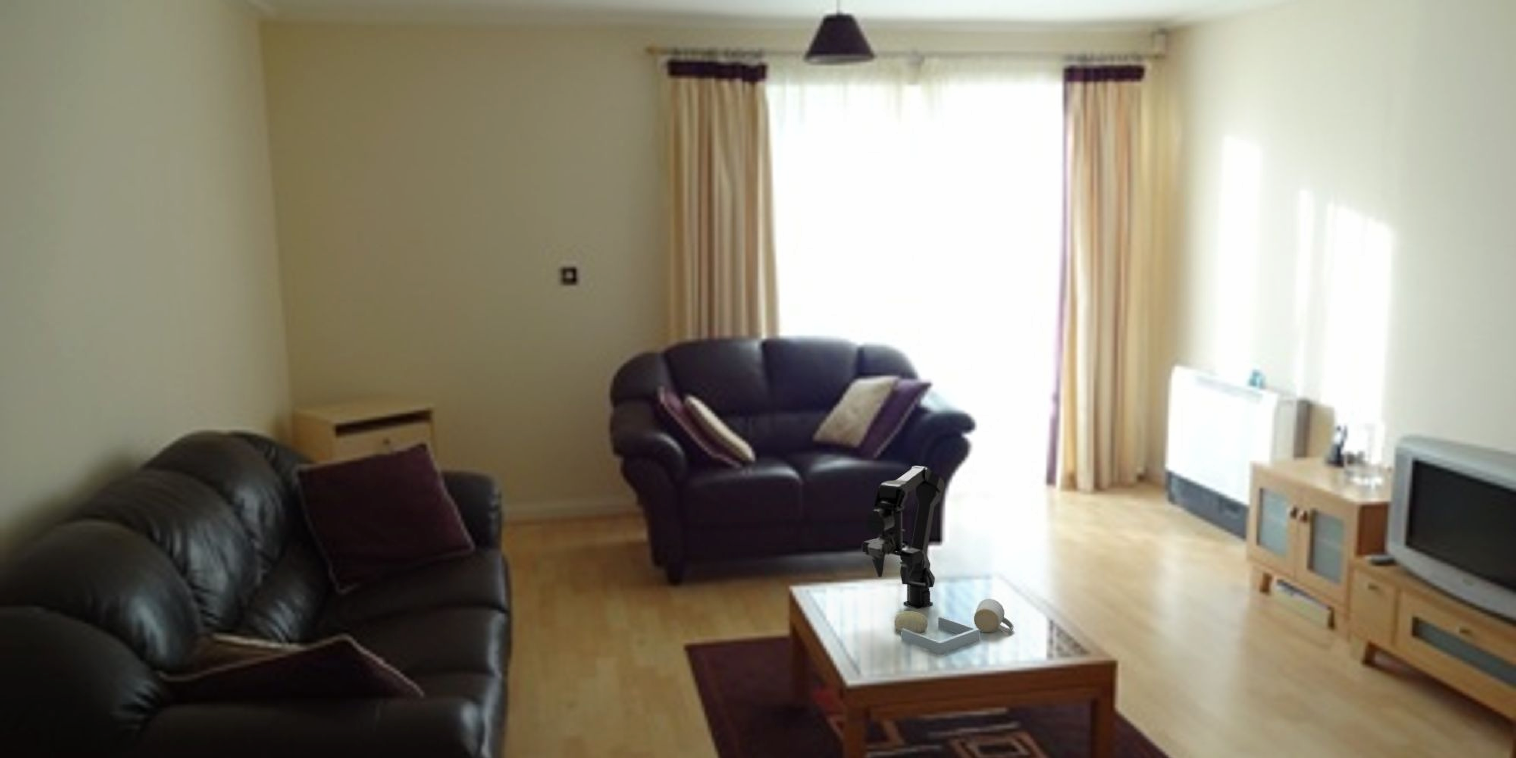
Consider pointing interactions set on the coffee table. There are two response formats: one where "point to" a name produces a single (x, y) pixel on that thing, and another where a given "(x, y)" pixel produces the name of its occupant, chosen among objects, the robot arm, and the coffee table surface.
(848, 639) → the coffee table surface
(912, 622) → the sea urchin shell
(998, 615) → the ceramic mug
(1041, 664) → the coffee table surface
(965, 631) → the corral
